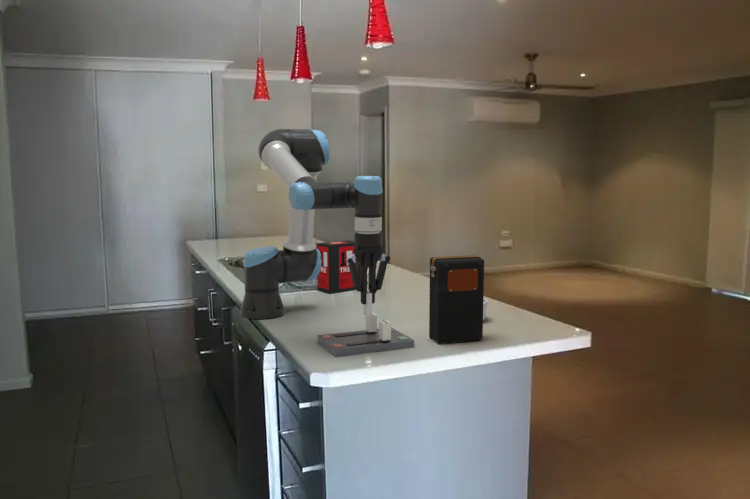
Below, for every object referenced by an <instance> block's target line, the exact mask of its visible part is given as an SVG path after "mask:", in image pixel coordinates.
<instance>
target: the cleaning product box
mask: <svg viewBox="0 0 750 499" xmlns="http://www.w3.org/2000/svg"><path fill="white" fill-rule="evenodd" d="M316 248H317V249H318V250H319V251H320V254H321V269H320V272H319V274H318V276H317V277H316V278H317V291H318V292H322V293H325V294H327V295H328V294H329V295H332V294H339V293H346V292H352V291H356V290H355V289H354V286H353V282H352V277H351V273H350V269H349V265H348V263H347V262H346V260H345V259H346V258H347V257H348V258H349V257H350V256H351V255H353V251H354V249H355V240H349V239H348V240H337V241H328V242H317V243H316ZM355 261H356V262H355V265H356V269H357V273H358V277H359V282H360V266H359V262H358V261H357V259H356V258H355Z"/></svg>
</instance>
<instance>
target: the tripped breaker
mask: <svg viewBox="0 0 750 499" xmlns="http://www.w3.org/2000/svg"><path fill="white" fill-rule="evenodd" d="M391 327H392V322H391V321H389V320H387V319H382V320H379V321H378V329H379V339H381V340H383V341H385V340H391Z"/></svg>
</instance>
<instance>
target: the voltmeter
mask: <svg viewBox="0 0 750 499" xmlns="http://www.w3.org/2000/svg"><path fill="white" fill-rule="evenodd" d="M484 281H485V259H483V258H482V257H481V256H479V255H475V254H473V255H458V256H457V255H456V256H437V257H435V256H433V257H430V259H429V307H428V308H429V312H428V313H429V314H428V315H429V316H428V318H429V321H428V322H429V323H428V324H429V326H428V328H429V329H428V330H429V331H428V333H429V334H428V337H429V339H430V340H433V341H435V342H437V343H438V344H447V343H459V342H467V341H468V342H471V341H481V340H482V339H483V337H484V336H483V334H484V330H483V329H484V327H483V326H484V320H483V298H484V290H485V288H484V287H485V286H484V285H485V282H484Z"/></svg>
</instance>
